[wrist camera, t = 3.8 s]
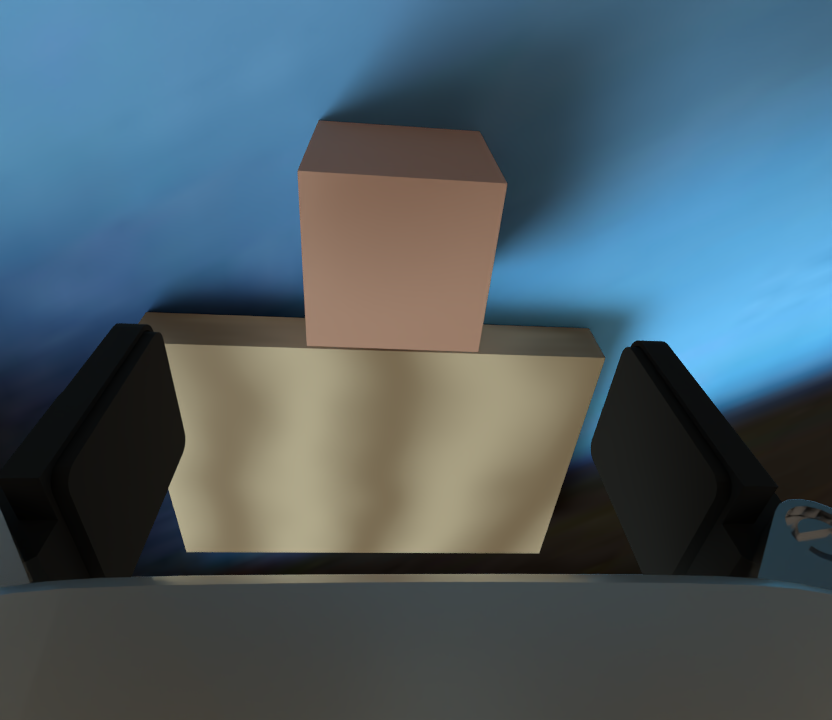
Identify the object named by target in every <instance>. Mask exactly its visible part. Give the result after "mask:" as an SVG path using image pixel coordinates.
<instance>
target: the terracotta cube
mask: <svg viewBox="0 0 832 720" xmlns="http://www.w3.org/2000/svg"><path fill="white" fill-rule="evenodd" d="M298 188H299V207H300V226H301V245H302V264H303V283H304V302H305V321H306V340H307V346H326V347H353V348H381V349H408V350H436V351H463V352H478V350H479V344H480V338H481V333H482V327H483V321H484V315H485V310H486V304H487V298H488V292H489V287H490V281H491V275H492V269H493V264H494V258H495V252H496V246H497V241H498V235H499V229H500V223H501V217H502V212H503V206H504V200H505V194H506V189H507V182H506V180H505V178H504V176H503V174H502V173H501V171H500V169H499V167H498V165H497V163H496V161H495V159H494V158H493V156H492V154H491V152H490V150H489V148H488V146H487V144H486V142H485V141H484V139H483V137H482V135H481V133H480V131H467V130H453V129H438V128H423V127H408V126H394V125H379V124H364V123H349V122H335V121H320V120H319V121H318V123H317V126H316V128H315V130H314V133H313V135H312V138H311V140H310V142H309V145H308V147H307V150H306V152H305V154H304V157H303V159H302V162H301V164H300V166H299V169H298Z"/></svg>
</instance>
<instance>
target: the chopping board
mask: <svg viewBox="0 0 832 720" xmlns="http://www.w3.org/2000/svg"><path fill="white" fill-rule="evenodd" d="M138 324H148V325H150V326H151V327H152V329H153V331H154V332H160V333H161V334H162V336H163V339H164V343H165V348H166V352H167V357H168V361H169V365H170V370H171V374H172V378H173V383H174V387H175V392H176V396H177V400H178V405H179V409H180V413H181V418H182V422H183V427H184V431H185V440H186V441H185V448H184V452H183V455H182V457H181V459H180V462H179V464H178V466H177V469H176V471H175V474H174V476H173V478H172V481H171V483H170V485H169V488H168V489H169V493H170V496H171V500H172V503H173V506H174V510H175V513H176V517H177V520H178V524H179V527H180V530H181V534H182V537H183V541H184V544H185V548H186V551H187V552H353V553H539V552H540V549H541V546H542V543H543V540H544V537H545V534H546V531H547V528H548V525H549V522H550V519H551V516H552V513H553V510H554V508H555V505H556V502H557V499H558V496H559V493H560V490H561V487H562V484H563V481H564V478H565V475H566V472H567V469H568V466H569V463H570V460H571V458H572V455H573V452H574V449H575V446H576V443H577V440H578V437H579V434H580V431H581V428H582V425H583V422H584V419H585V416H586V413H587V410H588V408H589V405H590V402H591V399H592V396H593V393H594V390H595V387H596V384H597V381H598V378H599V375H600V372H601V369H602V366H603V363H604V360H605V357H604V355H603V353H602V351H601V349H600V347H599V346H598V344H597V342H596V340H595V338H594V336H593V335H592V333H591V331H590V329H589V328H565V327H538V326H511V325H483V327H482V333H481V338H480V344H479V350H478V352H463V351H436V350H408V349H381V348H353V347H326V346H307V340H306V321H305V318H292V317H265V316H238V315H211V314H183V313H156V312H146V313H145V315H144V316H143V318H142V319H141V321H140V322H139V323H138Z"/></svg>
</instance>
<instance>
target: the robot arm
mask: <svg viewBox="0 0 832 720" xmlns="http://www.w3.org/2000/svg"><path fill="white" fill-rule="evenodd" d="M185 441H186V440H185V431H184V427H183V422H182V418H181V413H180V409H179V405H178V400H177V396H176V392H175V387H174V383H173V378H172V374H171V370H170V365H169V361H168V357H167V352H166V348H165V343H164V339H163V336H162V334H161V333H160V332H154V331H153V329H152V327H151V326H150V325H148V324H123V323H119V324H116V325H114V326H113V328H112V329H111V330H110V331H109V333H108V334H107V335H106V337H105V338H104V339H103V341H102V342H101V343H100V344H99V346H98V347H97V348H96V350H95V351H94V352H93V354H92V355H91V356H90V357H89V359H88V360H87V361H86V363H85V364H84V365H83V366H82V368H81V369H80V370H79V372H78V373H77V374H76V376H75V377H74V378H73V379H72V381H71V382H70V383H69V385H68V386H67V387H66V389H65V390H64V391H63V392H62V393H61V394H60V395H59V396H58V397H57V398H56V400H55V401H54V402H53V403H52V405H51V406H50V407H49V409H48V410H47V411H46V413H45V414H44V415H43V416H42V418H41V419H40V420H39V422H38V423H37V424H36V425H35V427H34V428H33V429H32V431H31V432H30V433H29V434H28V436H27V437H26V438H25V440H24V441H23V442H22V443H21V445H20V446H19V447H18V449H17V450H16V451H15V453H14V454H13V455H12V456H11V458H10V459H9V460H8V462H7V463H6V464H5V465H4V467H3V468H2V469H1V471H0V720H832V508H830V507H827V506H825V505H822V504H819V503H816V502H813V501H808V500H802V499H794V500H787V501H785V502H781V500H780V499H779V498H778V496H777V495H776V494H775V493H774V492H775V491H776V489H777V488H778V486H777V484H776V483H775V482H774V481H773V479H772V478H771V477H770V475H769V474H768V473H767V472H766V470H765V469H764V468H763V466H762V465H761V464H760V463H759V461H758V460H757V459H756V457H755V456H754V455H753V454H752V452H751V451H750V450H749V448H748V447H747V446H746V445H745V443H744V442H743V441H742V439H741V438H740V437H739V436H738V434H737V433H736V432H735V430H734V429H733V428H732V427H731V425H730V424H729V423H728V421H727V420H726V419H725V417H724V416H723V415H722V414H721V412H720V411H719V410H718V408H717V407H716V406H715V405H714V403H713V402H712V401H711V399H710V398H709V397H708V396H707V394H706V393H705V392H704V390H703V389H702V388H701V387H700V385H699V384H698V383H697V381H696V380H695V379H694V378H693V376H692V375H691V374H690V372H689V371H688V370H687V369H686V367H685V366H684V365H683V363H682V362H681V361H680V360H679V358H678V357H677V356H676V354H675V353H674V352H673V351H672V349H671V348H670V347H669V345H668V344H667V343H665V342H662V341H635V342H634V343H633V344H632V345H631V347H626V348H625V349H624V350H623V352H622V354H621V357H620V360H619V363H618V366H617V369H616V372H615V375H614V377H613V380H612V383H611V386H610V389H609V392H608V395H607V398H606V401H605V404H604V407H603V409H602V412H601V415H600V418H599V421H598V424H597V427H596V430H595V433H594V436H593V439H592V442H591V455H592V458H593V461H594V463H595V465H596V468H597V470H598V472H599V474H600V477H601V479H602V481H603V484H604V486H605V488H606V491H607V493H608V495H609V497H610V500H611V502H612V504H613V507H614V509H615V511H616V513H617V516H618V518H619V520H620V523H621V525H622V527H623V530H624V532H625V534H626V536H627V539H628V541H629V543H630V546H631V548H632V550H633V552H634V555H635V557H636V559H637V562H638V564H639V566H640V569H641V571H642V573H643V575H638V574H351V575H217V576H160V577H131V576H132V574H133V571H134V569H135V567H136V564H137V562H138V559H139V557H140V555H141V552H142V550H143V547H144V545H145V543H146V540H147V538H148V536H149V533H150V531H151V528H152V526H153V524H154V521H155V519H156V516H157V514H158V512H159V509H160V507H161V505H162V502H163V500H164V497H165V495H166V493H167V490H168V488H169V485H170V483H171V481H172V478H173V476H174V474H175V471H176V469H177V466H178V464H179V462H180V459H181V457H182V455H183V452H184V448H185Z"/></svg>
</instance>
